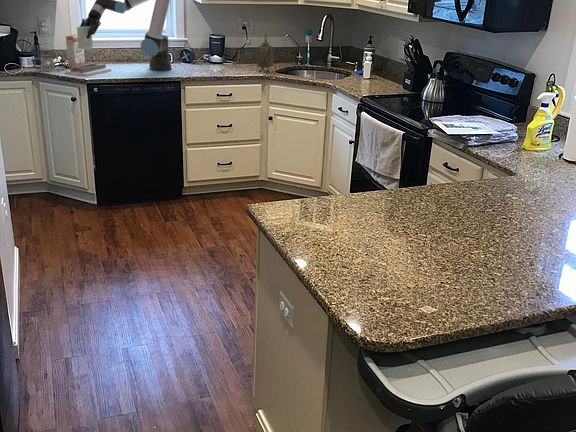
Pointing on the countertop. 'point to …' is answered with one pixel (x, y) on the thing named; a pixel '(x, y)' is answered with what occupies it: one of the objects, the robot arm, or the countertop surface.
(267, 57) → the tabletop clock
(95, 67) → the grey flat block
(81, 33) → the door panel
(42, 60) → the french press
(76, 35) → the cracker box
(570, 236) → the countertop surface
